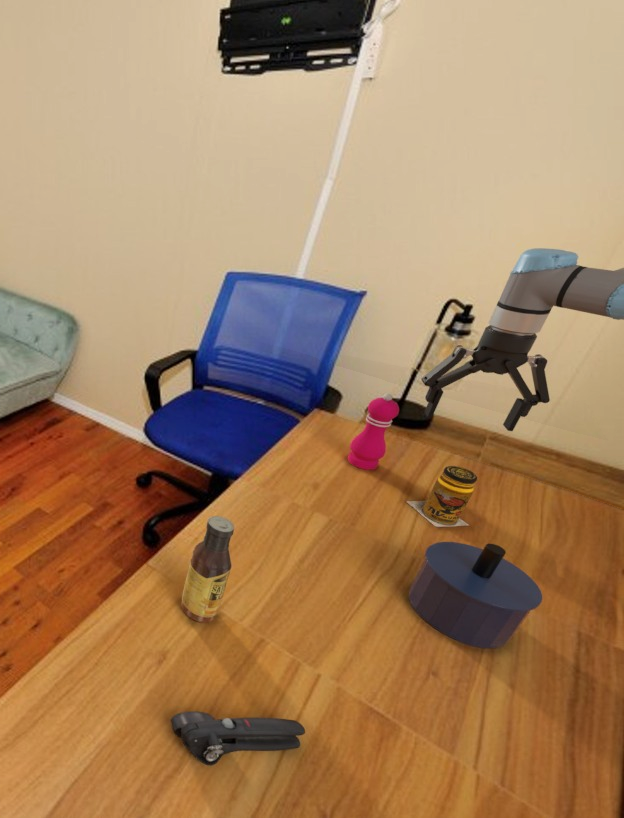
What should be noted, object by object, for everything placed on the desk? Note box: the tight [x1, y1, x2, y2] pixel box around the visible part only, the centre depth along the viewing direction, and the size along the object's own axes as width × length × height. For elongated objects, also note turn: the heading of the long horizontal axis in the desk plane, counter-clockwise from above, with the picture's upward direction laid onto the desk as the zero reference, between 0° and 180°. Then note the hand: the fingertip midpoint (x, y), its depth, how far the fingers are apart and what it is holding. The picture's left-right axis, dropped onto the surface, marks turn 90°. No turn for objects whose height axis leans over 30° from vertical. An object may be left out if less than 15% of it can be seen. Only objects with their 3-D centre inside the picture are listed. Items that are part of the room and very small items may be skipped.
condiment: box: [405, 465, 478, 528], centre depth 109 cm, size 7×8×12 cm
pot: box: [407, 558, 532, 649], centre depth 87 cm, size 14×14×10 cm
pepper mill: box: [347, 393, 400, 471], centre depth 125 cm, size 7×7×20 cm
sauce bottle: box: [180, 515, 235, 624], centre depth 86 cm, size 7×6×20 cm
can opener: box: [170, 711, 306, 766], centre depth 70 cm, size 18×7×6 cm, turn 90°
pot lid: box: [424, 541, 543, 612], centre depth 83 cm, size 15×15×7 cm
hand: (466, 421), depth 110 cm, fingers open, 13 cm apart
